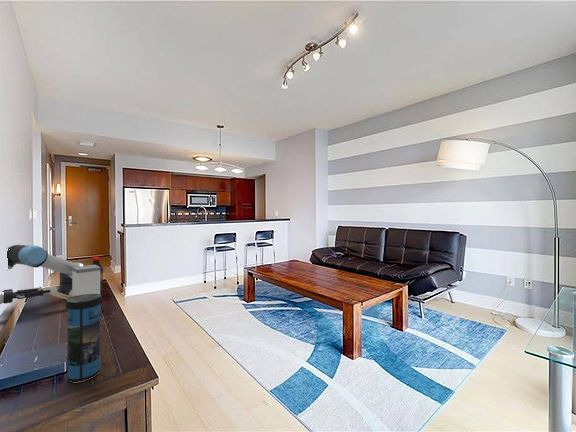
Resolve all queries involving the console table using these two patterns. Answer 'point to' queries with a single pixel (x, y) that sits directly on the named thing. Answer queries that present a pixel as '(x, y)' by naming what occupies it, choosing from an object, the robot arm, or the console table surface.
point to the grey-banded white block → (85, 280)
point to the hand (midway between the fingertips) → (56, 289)
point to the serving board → (59, 294)
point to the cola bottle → (96, 262)
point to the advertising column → (83, 336)
